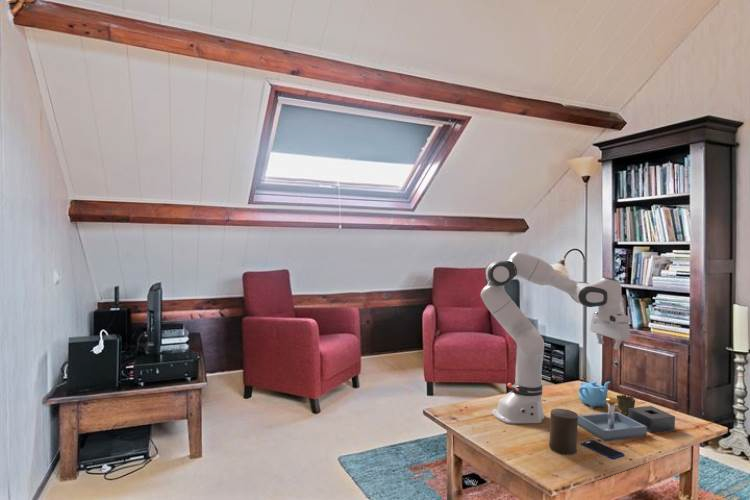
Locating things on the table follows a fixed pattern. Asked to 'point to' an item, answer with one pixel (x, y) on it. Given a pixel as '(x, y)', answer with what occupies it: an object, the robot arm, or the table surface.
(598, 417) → the tray
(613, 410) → the pin
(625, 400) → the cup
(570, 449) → the pillar candle
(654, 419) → the block
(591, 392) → the teapot
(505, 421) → the robot arm
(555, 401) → the table surface
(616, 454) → the cell phone
